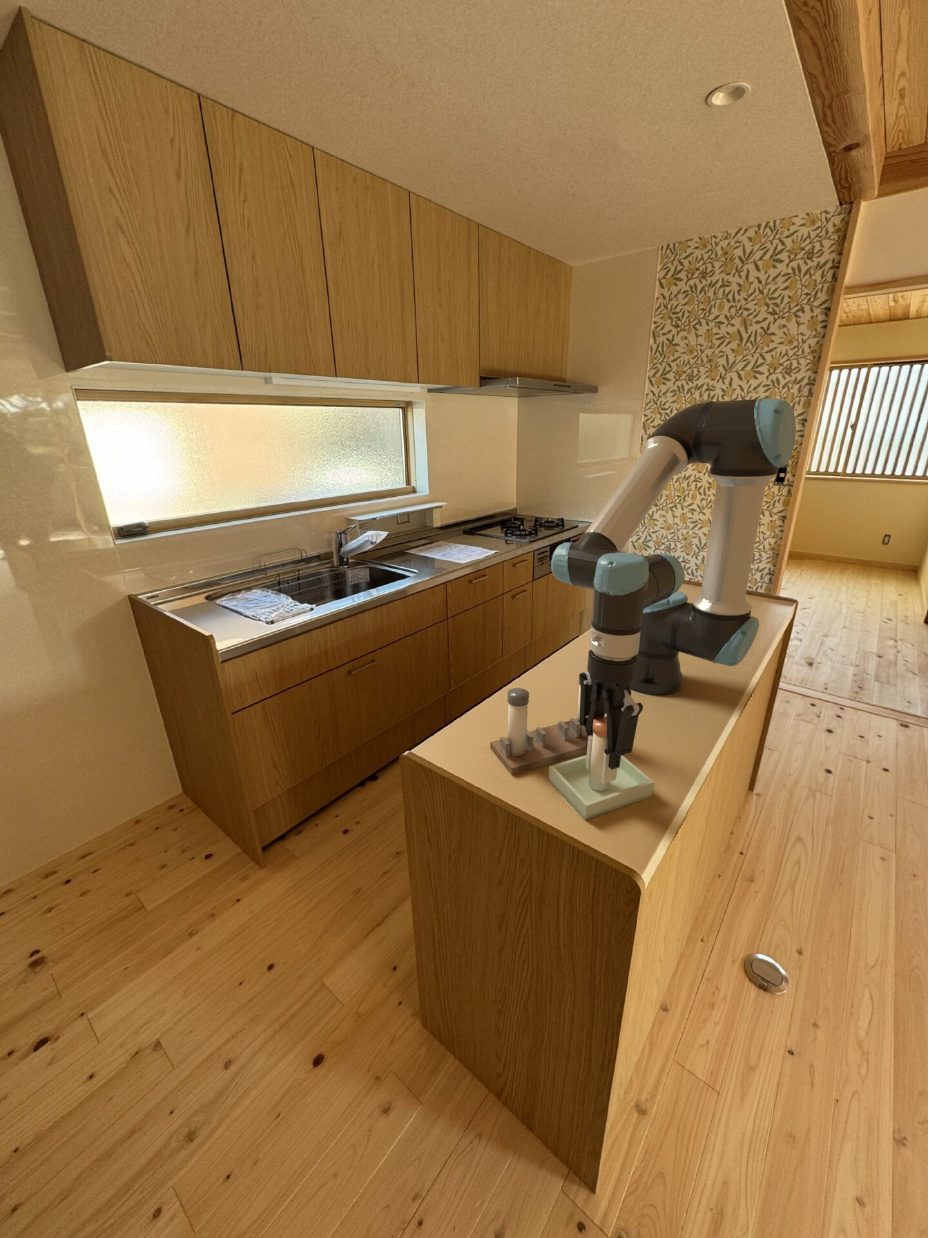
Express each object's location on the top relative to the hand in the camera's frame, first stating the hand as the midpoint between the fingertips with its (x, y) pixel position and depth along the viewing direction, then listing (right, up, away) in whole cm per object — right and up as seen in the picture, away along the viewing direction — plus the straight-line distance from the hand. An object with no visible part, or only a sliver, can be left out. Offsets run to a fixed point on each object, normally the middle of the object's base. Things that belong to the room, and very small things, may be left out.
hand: (600, 773), depth 87 cm
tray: (0, -3, +1) cm, 3 cm away
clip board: (-6, +1, +13) cm, 14 cm away
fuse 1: (-14, +2, +9) cm, 17 cm away
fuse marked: (0, -2, +1) cm, 2 cm away
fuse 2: (+1, +4, +15) cm, 16 cm away
